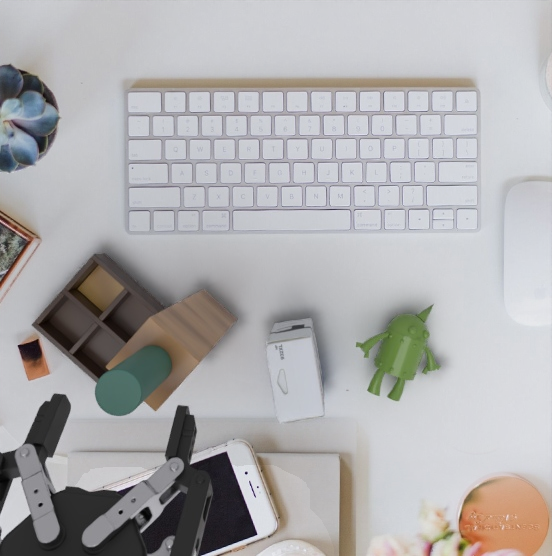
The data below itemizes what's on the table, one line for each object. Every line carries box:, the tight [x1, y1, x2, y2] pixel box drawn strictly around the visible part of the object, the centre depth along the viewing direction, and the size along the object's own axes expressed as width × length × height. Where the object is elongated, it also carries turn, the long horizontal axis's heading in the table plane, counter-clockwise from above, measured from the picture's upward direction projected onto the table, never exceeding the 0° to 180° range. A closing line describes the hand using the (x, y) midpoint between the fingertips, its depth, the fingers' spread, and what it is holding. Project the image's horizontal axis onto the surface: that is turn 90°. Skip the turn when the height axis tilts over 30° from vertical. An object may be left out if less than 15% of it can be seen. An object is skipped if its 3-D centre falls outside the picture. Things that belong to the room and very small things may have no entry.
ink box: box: [265, 317, 326, 425], centre depth 62 cm, size 8×5×12 cm, turn 9°
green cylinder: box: [94, 345, 172, 417], centre depth 42 cm, size 3×3×8 cm
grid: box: [31, 252, 167, 384], centre depth 67 cm, size 11×11×3 cm
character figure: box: [355, 303, 441, 402], centre depth 65 cm, size 12×5×12 cm
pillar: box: [106, 288, 238, 412], centre depth 57 cm, size 6×6×22 cm
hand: (123, 404), depth 40 cm, fingers open, 8 cm apart
